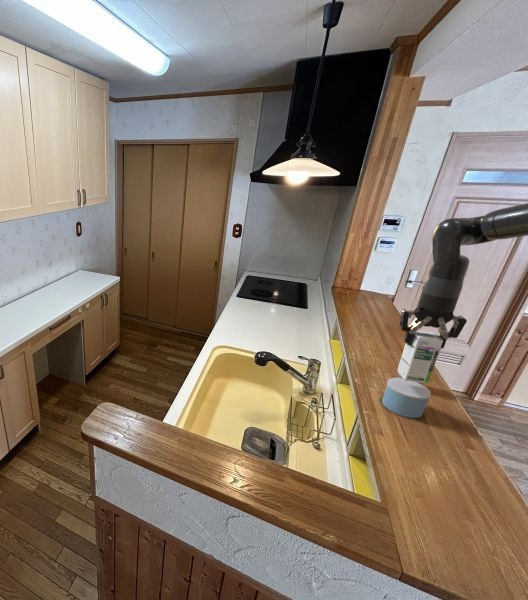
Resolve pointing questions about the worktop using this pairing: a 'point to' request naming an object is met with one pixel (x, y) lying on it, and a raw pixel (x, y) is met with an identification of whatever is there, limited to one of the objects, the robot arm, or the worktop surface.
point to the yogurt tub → (405, 397)
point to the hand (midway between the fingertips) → (422, 346)
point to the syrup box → (420, 357)
